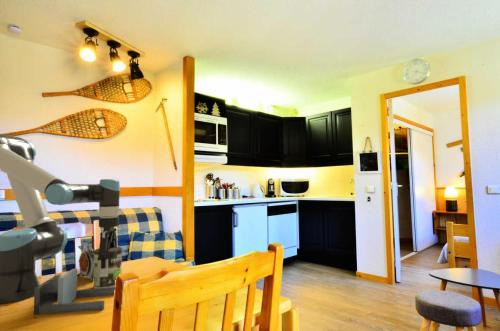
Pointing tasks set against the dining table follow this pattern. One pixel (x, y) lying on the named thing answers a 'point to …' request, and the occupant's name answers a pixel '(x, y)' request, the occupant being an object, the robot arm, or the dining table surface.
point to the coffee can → (113, 268)
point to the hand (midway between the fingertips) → (107, 272)
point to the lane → (49, 295)
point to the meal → (86, 262)
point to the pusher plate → (67, 287)
